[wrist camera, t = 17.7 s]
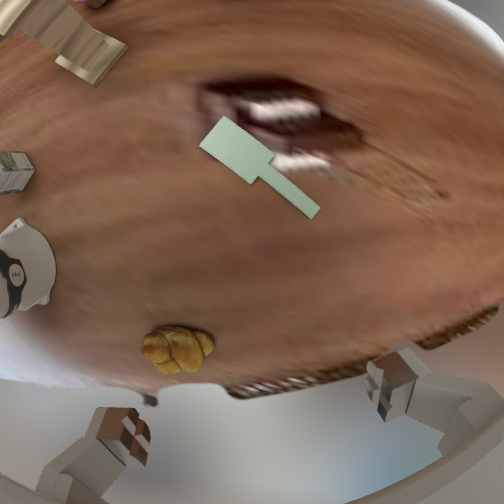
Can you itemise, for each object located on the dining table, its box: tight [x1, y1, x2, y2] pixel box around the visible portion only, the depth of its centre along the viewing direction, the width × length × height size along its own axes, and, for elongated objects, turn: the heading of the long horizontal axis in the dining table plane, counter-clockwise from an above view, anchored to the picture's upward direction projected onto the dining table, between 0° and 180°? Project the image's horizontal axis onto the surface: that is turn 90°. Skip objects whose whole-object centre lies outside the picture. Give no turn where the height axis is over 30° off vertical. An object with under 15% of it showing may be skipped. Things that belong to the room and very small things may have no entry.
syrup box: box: [0, 151, 35, 195], centre depth 29 cm, size 6×6×14 cm
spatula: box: [199, 116, 320, 219], centre depth 41 cm, size 21×6×2 cm, turn 52°
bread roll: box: [141, 326, 214, 374], centre depth 45 cm, size 13×10×8 cm
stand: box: [0, 0, 128, 87], centre depth 19 cm, size 13×9×26 cm
